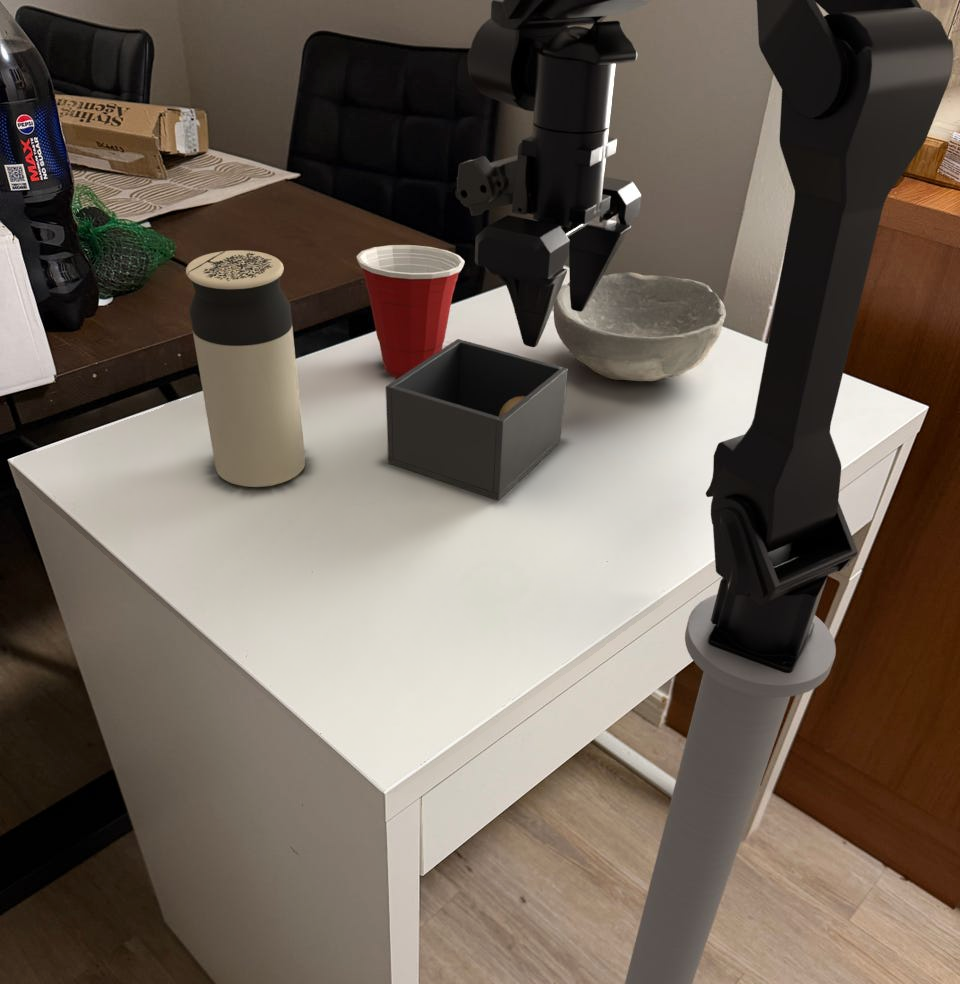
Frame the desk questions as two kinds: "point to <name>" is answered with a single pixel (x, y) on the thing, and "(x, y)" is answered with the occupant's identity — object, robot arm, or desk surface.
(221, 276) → the travel mug
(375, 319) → the plastic cup
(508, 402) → the orange ball
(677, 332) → the bowl
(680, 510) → the desk surface
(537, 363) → the wastebin
